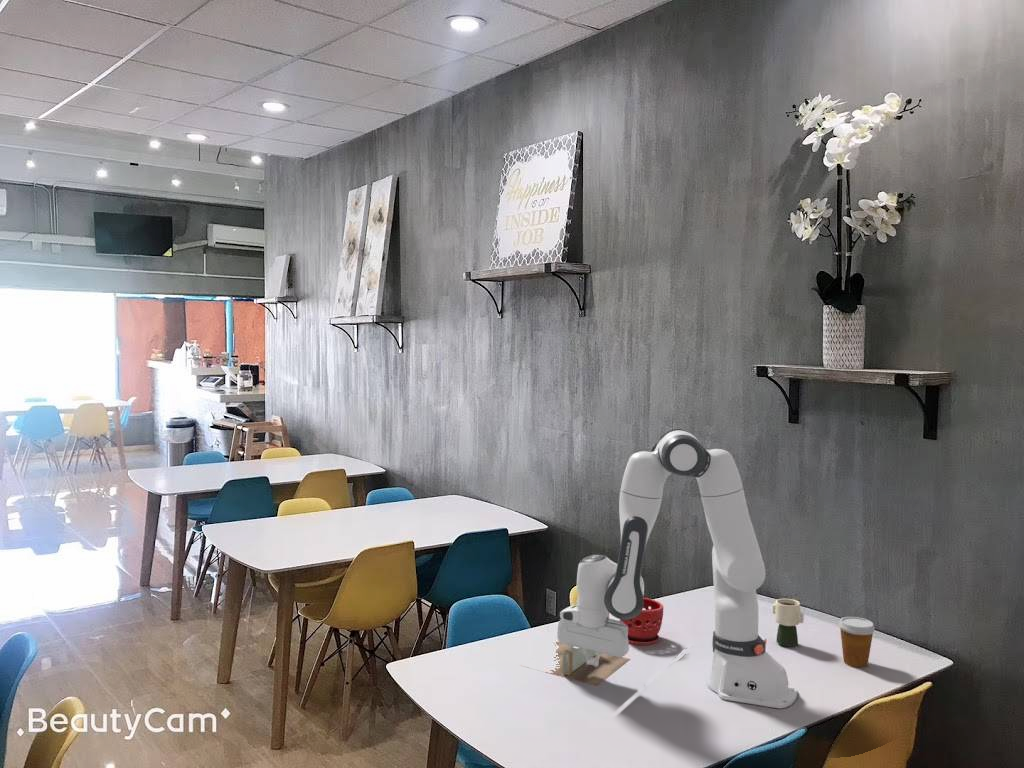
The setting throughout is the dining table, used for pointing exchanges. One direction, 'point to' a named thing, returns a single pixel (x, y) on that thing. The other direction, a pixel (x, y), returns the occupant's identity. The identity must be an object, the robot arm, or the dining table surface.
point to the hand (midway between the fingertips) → (592, 665)
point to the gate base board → (589, 667)
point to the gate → (573, 659)
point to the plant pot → (645, 624)
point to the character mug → (787, 620)
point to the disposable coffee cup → (856, 640)
